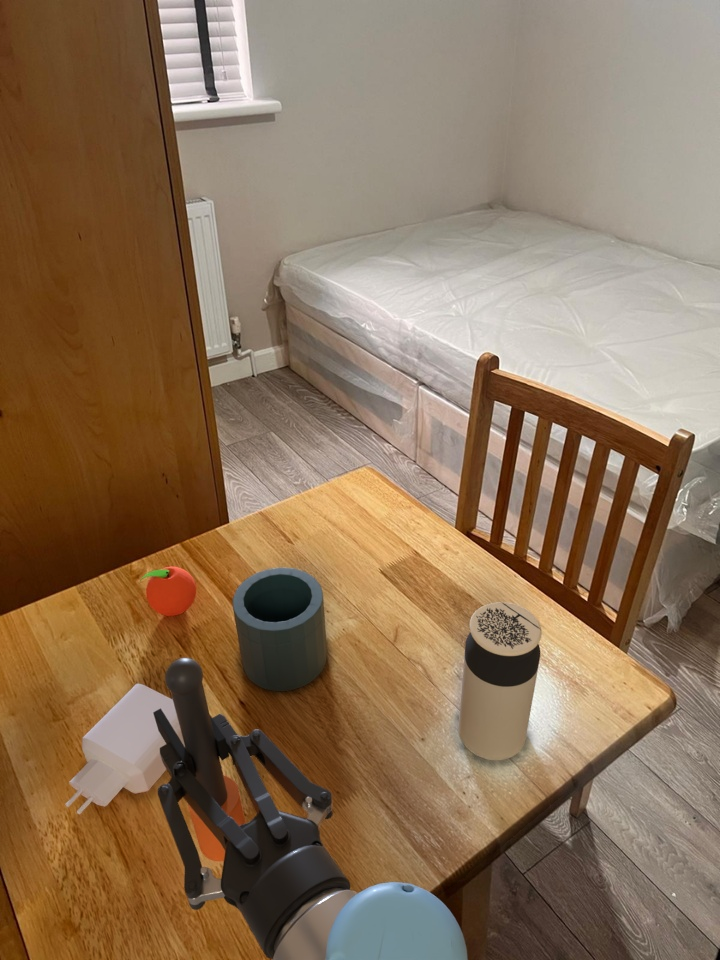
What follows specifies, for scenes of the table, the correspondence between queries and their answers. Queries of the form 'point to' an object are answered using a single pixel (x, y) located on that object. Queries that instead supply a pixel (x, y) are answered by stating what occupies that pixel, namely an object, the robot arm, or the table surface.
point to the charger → (124, 748)
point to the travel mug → (498, 680)
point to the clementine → (170, 590)
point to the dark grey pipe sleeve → (281, 628)
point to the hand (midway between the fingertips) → (176, 711)
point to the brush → (202, 750)
